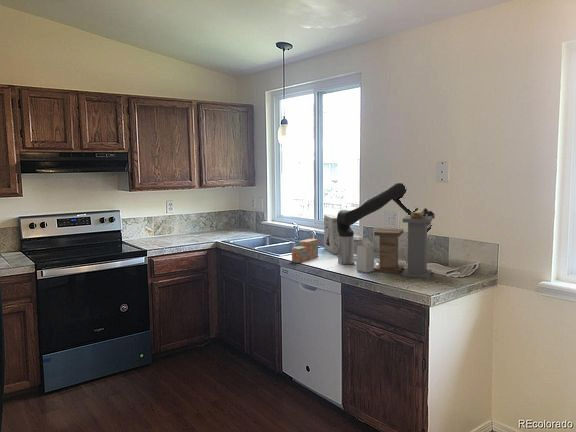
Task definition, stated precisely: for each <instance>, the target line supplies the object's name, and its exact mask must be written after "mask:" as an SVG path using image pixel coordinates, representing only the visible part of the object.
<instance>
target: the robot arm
mask: <svg viewBox="0 0 576 432" xmlns="http://www.w3.org/2000/svg"><path fill="white" fill-rule="evenodd" d="M403 184H404V183H401V182H397V183H394V184H393V185H392V186H390V187H389V188H386V189H385V190H383V191H381V192H379V193H377V194H375V195H372V196H370V197H368V198H367V199H365V200H364V201H363V202H362V203H361V205H359V206H358V207H356V208H354V209H351V210H349V209H342V210H339V211H338V213H337V214H336V215H337V230H338V233H339V247H338V254H337V263H339V264H340V265H351V264H354V263H355V251H354V249H355V248H354V247H355V246H354V243H355V238H354V235H355V234H354V233H355V232H354V230H353V229H352V228H351V226H352V225H354V224H356V223H357V222H358V221H360V220H361V219H363V218H364V217H366V216H369V215H371V214H373V213H374V212H376V211H378V210H379V211H380V209H382V208H383V207H385V206H386V205H387V204H388V203H389V202H391V201H393V202H394V203H395V204H396V205H398V207H399V208H401V210H403V211H404V212H405V213H406V214H407V213H408V214H407V216H408V215H410V216H411V213H412V212H411V211H410V210H409V209H407V208H406V207H405V206H404V205H403V204H402V203H401V201H400V200H399V199H400V198H402V197H403V198H404V196H405V195H406V193H407V188H406V189H405V186H406V185H405V184H404V185H405V186H404V185H403ZM404 194H405V195H404ZM418 209H419V207H416V209H415V211H413V212H416V211H417V210H418ZM424 209H425V214H424V215H423V216H432V220H433V219H435V218H436V214H435V213H434V212H433V211H432V210H428V208H425V207H424ZM431 223H432V221H431V222H430V223H427V232H428V231H429V230H430V229H431V226H432V225H431Z"/></svg>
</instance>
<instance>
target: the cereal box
mask: <svg viewBox="0 0 576 432" xmlns="http://www.w3.org/2000/svg"><path fill="white" fill-rule="evenodd" d="M337 215H338V214H334V213H329V214H328V213H327V214H323V227H324V228H323V232H324V233H323V234H324V235H323V236H324V237H323V239H324V241H323V242H324V246H323V247H324V249H325V251H328V252H329V253H331V254H332V255H338V247H339V233H338V230H337Z"/></svg>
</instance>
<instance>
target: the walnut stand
mask: <svg viewBox="0 0 576 432" xmlns="http://www.w3.org/2000/svg"><path fill="white" fill-rule="evenodd" d="M373 233H374V234H373V235H374V237H376V236H377V237H379V264H378V265H376V267H374V271H373V272H378V273H390V274H400V272H401V271H402V270H403V269H404V264H399V237H400V236H402V235H403V234H404V229H402V228H378V229H376V230H375V231H374V232H373ZM402 268H403V269H402Z"/></svg>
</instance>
